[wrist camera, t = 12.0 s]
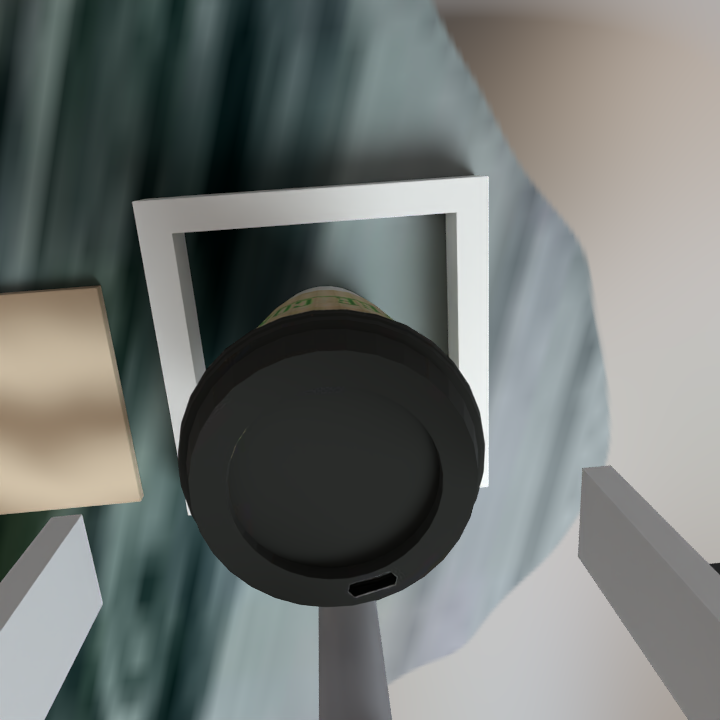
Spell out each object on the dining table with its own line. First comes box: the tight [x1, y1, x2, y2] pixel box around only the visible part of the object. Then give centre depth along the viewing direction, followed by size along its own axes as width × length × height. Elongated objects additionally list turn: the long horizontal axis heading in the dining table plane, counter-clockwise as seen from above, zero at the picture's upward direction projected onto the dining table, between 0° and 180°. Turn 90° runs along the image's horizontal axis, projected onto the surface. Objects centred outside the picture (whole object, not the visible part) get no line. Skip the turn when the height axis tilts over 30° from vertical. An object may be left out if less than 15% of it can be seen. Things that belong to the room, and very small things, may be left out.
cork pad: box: [0, 285, 144, 514], centre depth 31 cm, size 12×12×1 cm
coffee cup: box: [178, 286, 485, 607], centre depth 25 cm, size 10×10×15 cm
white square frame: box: [132, 175, 489, 720], centre depth 24 cm, size 18×16×18 cm
